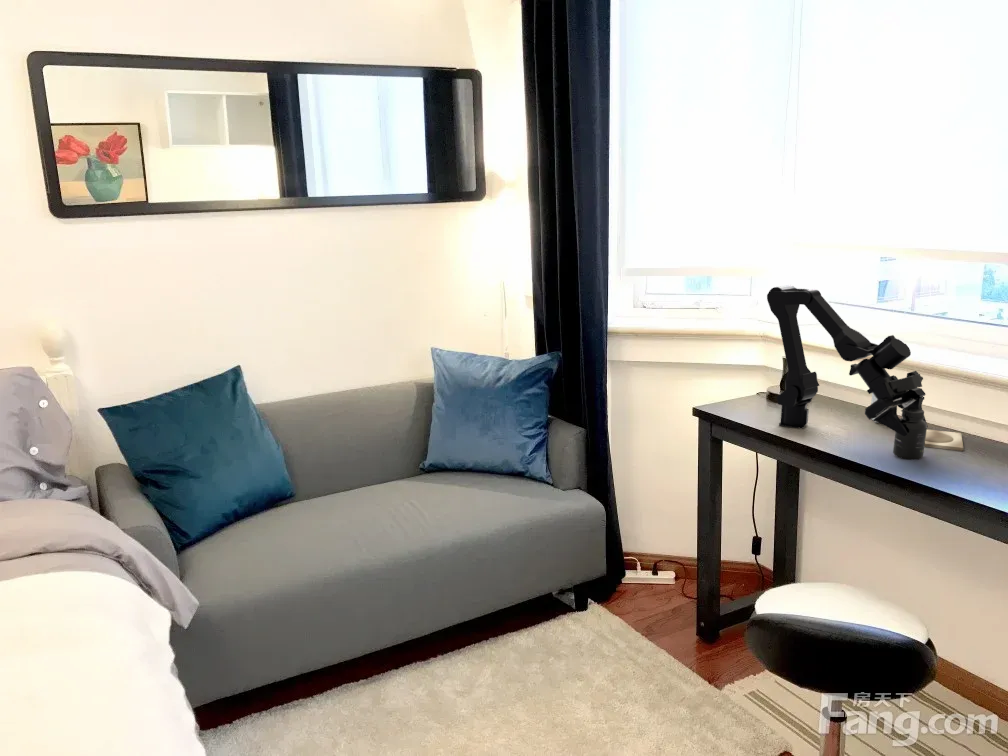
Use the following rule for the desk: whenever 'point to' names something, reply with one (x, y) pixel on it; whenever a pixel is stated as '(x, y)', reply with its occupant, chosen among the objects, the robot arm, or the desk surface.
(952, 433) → the birch coaster
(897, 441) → the supplement bottle
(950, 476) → the desk surface
